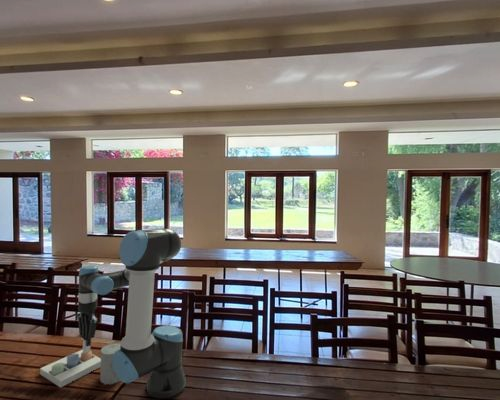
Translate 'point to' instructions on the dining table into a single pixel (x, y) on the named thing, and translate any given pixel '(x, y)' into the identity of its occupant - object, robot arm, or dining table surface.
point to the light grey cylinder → (108, 364)
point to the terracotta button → (86, 356)
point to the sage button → (57, 369)
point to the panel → (70, 370)
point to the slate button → (72, 360)
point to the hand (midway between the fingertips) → (86, 352)
